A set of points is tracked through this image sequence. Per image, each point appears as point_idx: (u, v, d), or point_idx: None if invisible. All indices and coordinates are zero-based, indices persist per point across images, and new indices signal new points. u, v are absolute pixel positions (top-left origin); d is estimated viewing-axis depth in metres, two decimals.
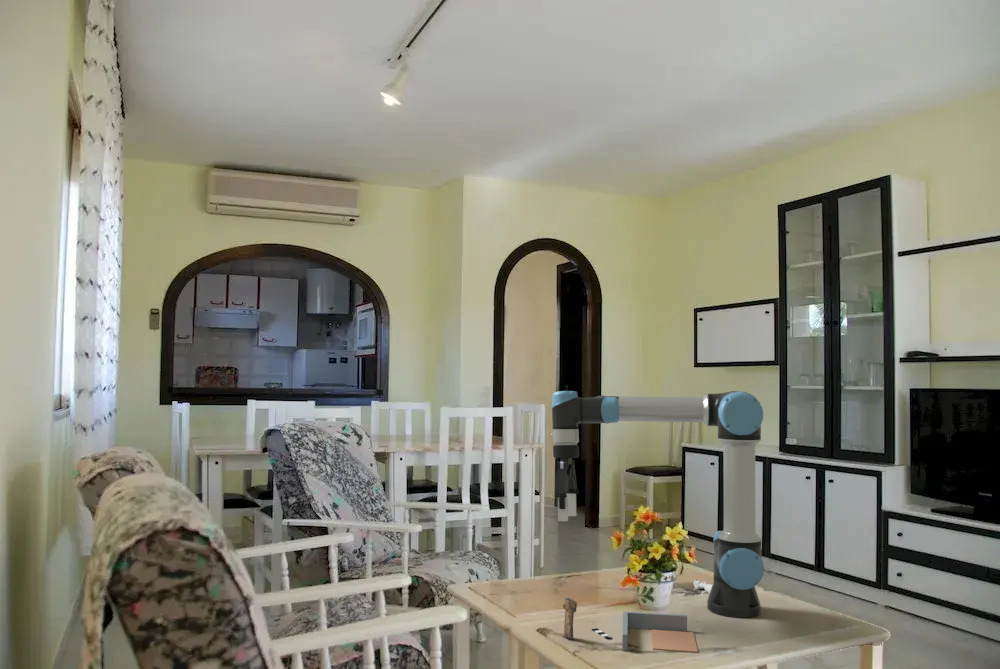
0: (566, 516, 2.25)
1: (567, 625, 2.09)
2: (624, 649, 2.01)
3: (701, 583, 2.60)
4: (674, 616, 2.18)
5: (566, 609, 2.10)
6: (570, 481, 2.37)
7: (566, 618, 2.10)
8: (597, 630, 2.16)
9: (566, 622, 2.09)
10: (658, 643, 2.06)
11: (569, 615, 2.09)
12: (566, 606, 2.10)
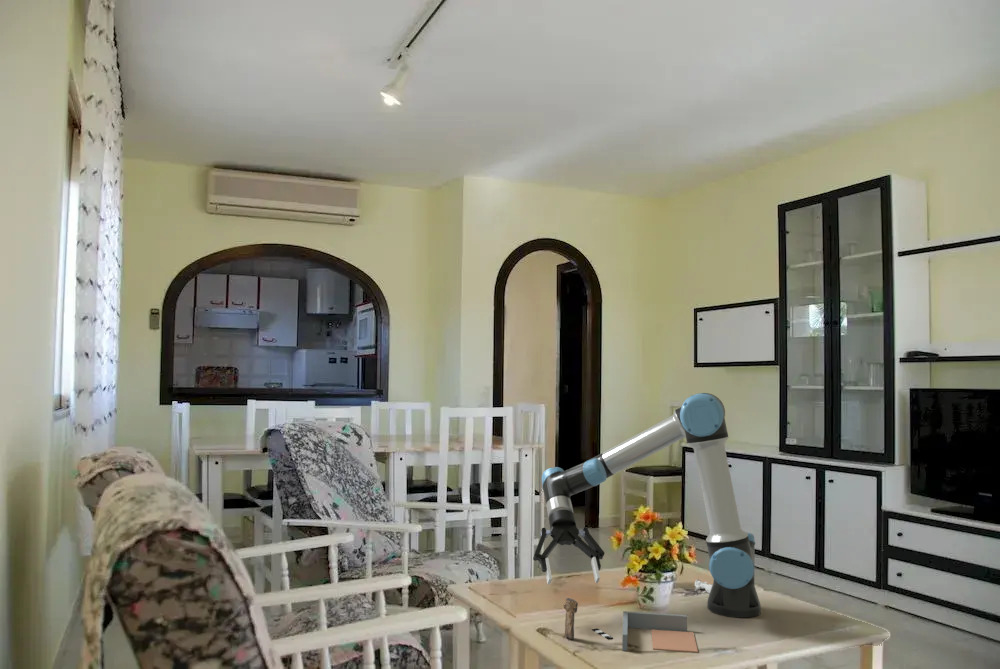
0: (548, 575, 2.19)
1: (568, 625, 2.09)
2: (624, 649, 2.01)
3: (702, 583, 2.59)
4: (674, 616, 2.18)
5: (567, 609, 2.10)
6: (582, 547, 2.28)
7: (567, 618, 2.09)
8: (597, 630, 2.16)
9: (567, 622, 2.09)
10: (658, 643, 2.06)
11: (570, 615, 2.09)
12: (567, 606, 2.09)
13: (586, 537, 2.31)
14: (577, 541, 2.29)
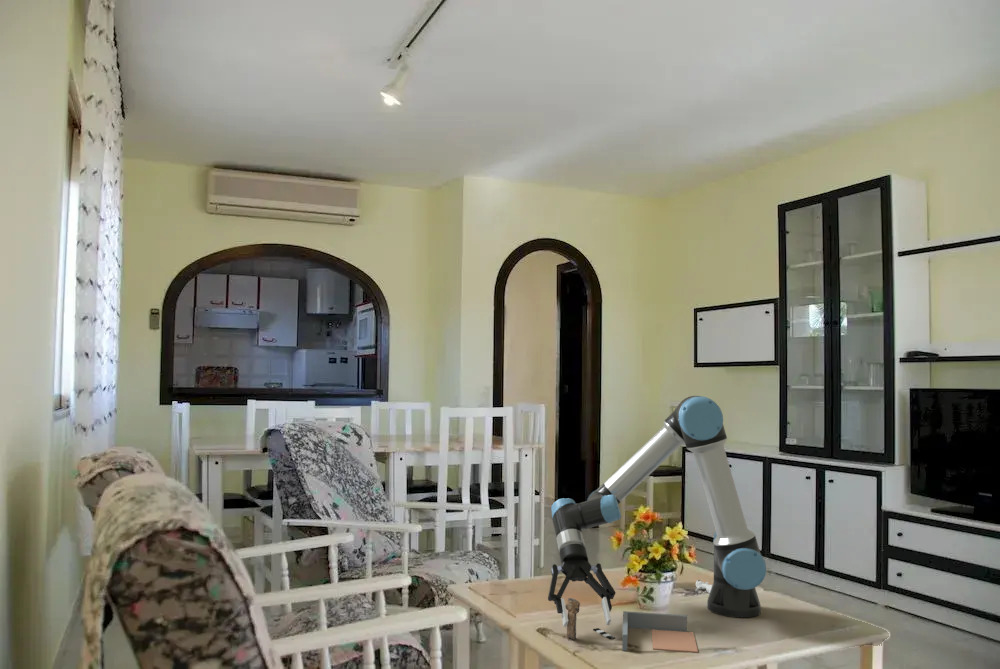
0: (564, 617, 2.08)
1: (570, 625, 2.09)
2: (624, 649, 2.01)
3: (703, 584, 2.59)
4: (674, 616, 2.18)
5: (569, 609, 2.09)
6: (593, 585, 2.17)
7: (569, 618, 2.09)
8: (599, 630, 2.16)
9: (569, 622, 2.09)
10: (658, 643, 2.06)
11: (572, 615, 2.09)
12: (569, 606, 2.09)
13: (598, 574, 2.20)
14: (588, 578, 2.18)
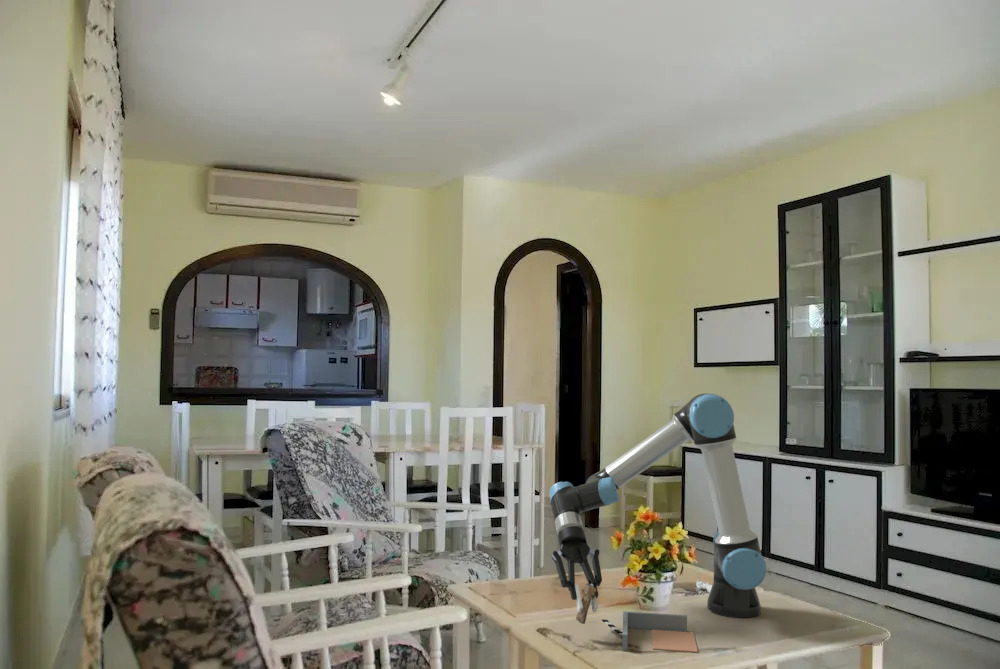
0: (579, 603, 2.08)
1: (582, 610, 2.09)
2: (624, 649, 2.01)
3: (703, 584, 2.59)
4: (674, 616, 2.18)
5: (584, 594, 2.10)
6: (584, 569, 2.17)
7: (582, 603, 2.10)
8: (607, 622, 2.16)
9: None
10: (658, 643, 2.06)
11: (586, 600, 2.09)
12: (586, 591, 2.10)
13: (593, 559, 2.19)
14: (582, 561, 2.18)
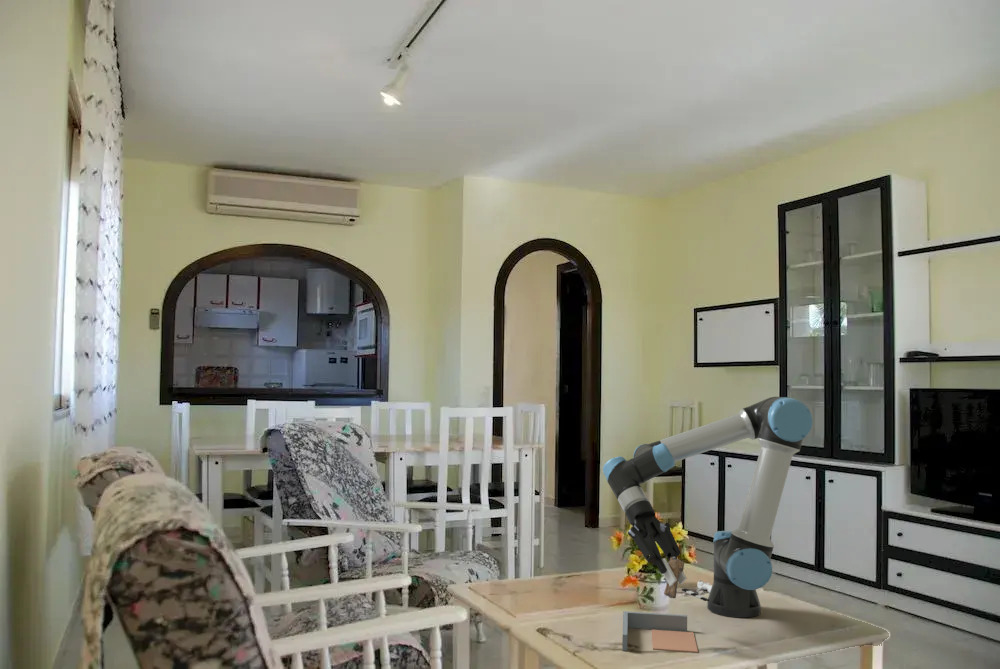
0: (671, 576, 2.06)
1: None
2: (624, 649, 2.01)
3: (704, 584, 2.58)
4: (674, 616, 2.18)
5: (672, 568, 2.08)
6: (661, 542, 2.14)
7: None
8: (688, 591, 2.16)
9: None
10: (658, 643, 2.06)
11: (675, 574, 2.07)
12: (673, 566, 2.07)
13: (666, 532, 2.18)
14: (658, 535, 2.15)
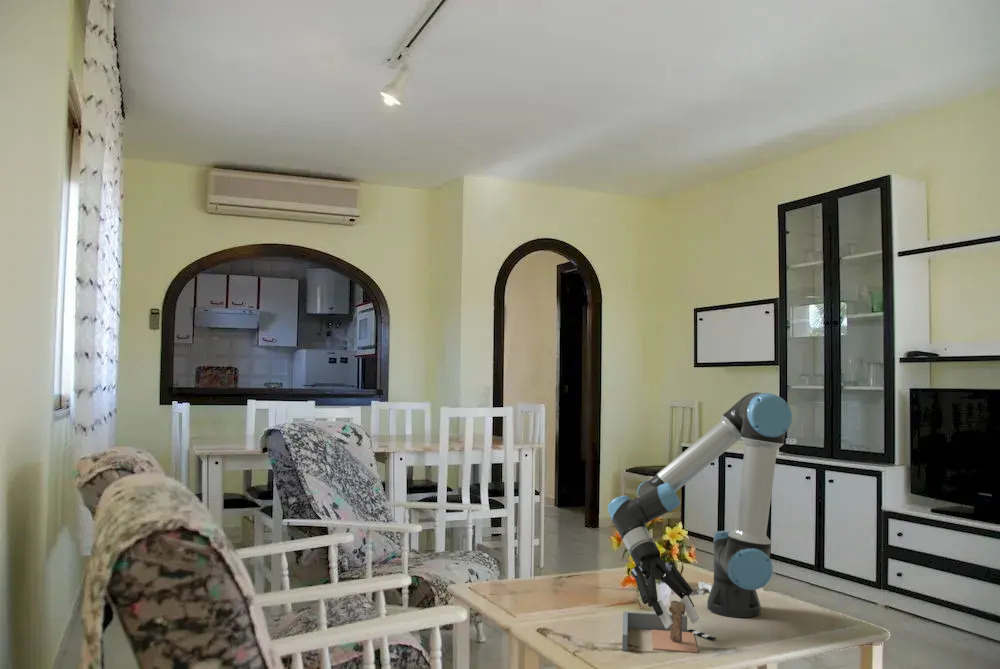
0: (668, 619, 2.04)
1: (675, 628, 2.07)
2: (624, 649, 2.01)
3: (705, 584, 2.58)
4: None
5: (674, 612, 2.07)
6: (671, 583, 2.15)
7: (674, 621, 2.07)
8: (694, 631, 2.15)
9: (674, 625, 2.07)
10: (658, 643, 2.06)
11: (678, 618, 2.07)
12: (674, 609, 2.07)
13: (672, 572, 2.18)
14: (666, 576, 2.15)
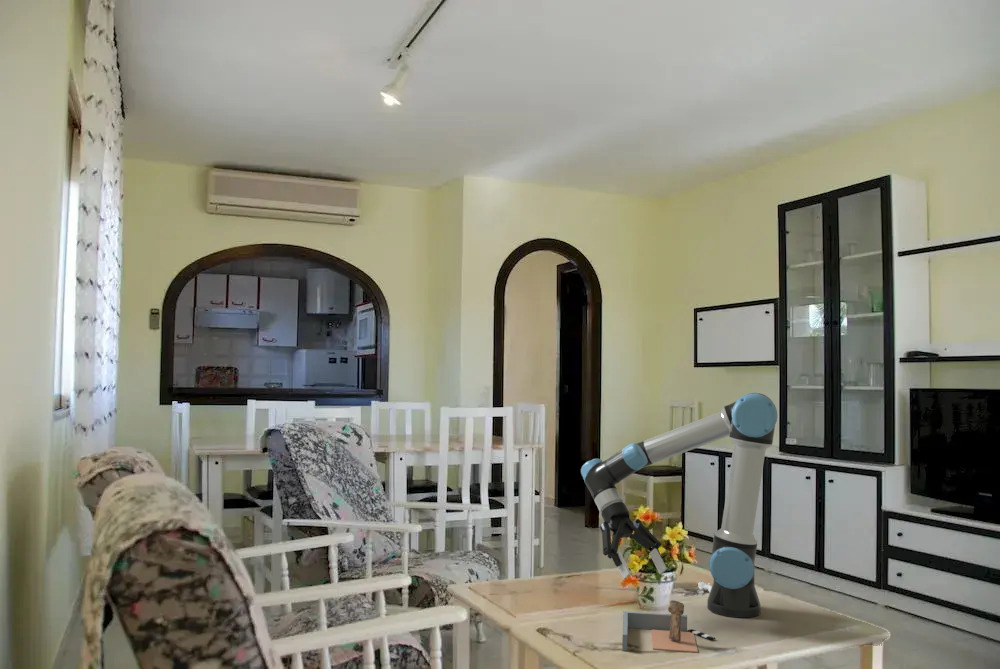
0: (626, 569, 2.16)
1: (674, 628, 2.07)
2: (624, 649, 2.01)
3: (705, 585, 2.58)
4: None
5: (672, 612, 2.08)
6: (640, 539, 2.28)
7: (673, 621, 2.08)
8: (694, 631, 2.15)
9: (673, 625, 2.07)
10: (658, 643, 2.06)
11: (677, 617, 2.07)
12: (673, 609, 2.08)
13: (640, 529, 2.31)
14: (636, 533, 2.28)
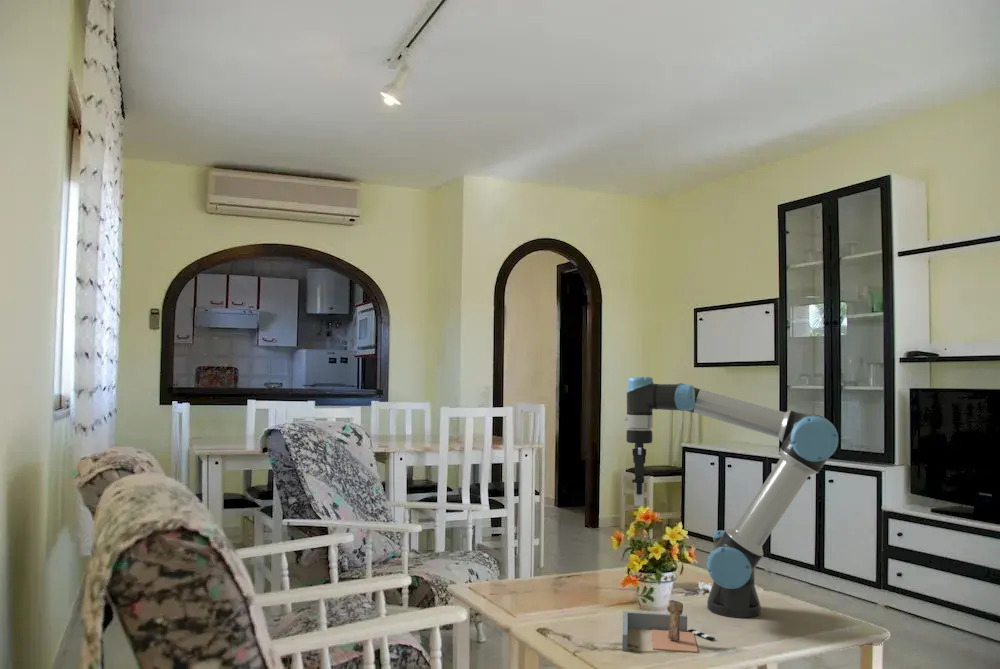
0: (642, 501, 2.28)
1: (673, 627, 2.07)
2: (624, 649, 2.01)
3: (706, 585, 2.58)
4: None
5: (671, 611, 2.08)
6: None
7: (672, 620, 2.08)
8: (694, 631, 2.15)
9: (672, 624, 2.08)
10: (658, 643, 2.06)
11: (676, 617, 2.07)
12: (672, 608, 2.08)
13: None
14: None
